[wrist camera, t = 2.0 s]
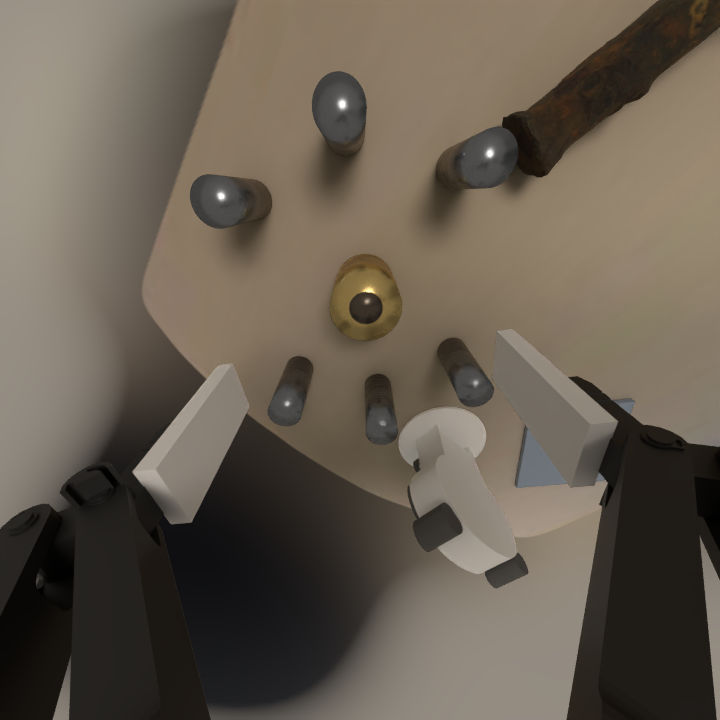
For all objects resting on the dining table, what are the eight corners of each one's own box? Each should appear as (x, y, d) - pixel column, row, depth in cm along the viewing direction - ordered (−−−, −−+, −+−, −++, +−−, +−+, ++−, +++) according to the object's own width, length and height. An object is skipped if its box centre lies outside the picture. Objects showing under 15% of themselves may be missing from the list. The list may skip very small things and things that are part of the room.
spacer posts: (476, 85, 22) (530, 35, 15) (463, 386, 35) (489, 434, 28) (216, 130, 23) (154, 104, 16) (297, 404, 36) (282, 454, 30)
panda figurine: (377, 441, 40) (384, 565, 26) (441, 387, 35) (488, 503, 22) (438, 481, 43) (472, 606, 30) (503, 436, 39) (574, 560, 26)
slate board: (631, 398, 36) (635, 401, 35) (601, 477, 43) (604, 480, 42) (528, 409, 37) (530, 412, 36) (515, 484, 44) (517, 487, 43)
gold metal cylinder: (391, 250, 28) (399, 266, 22) (395, 307, 30) (404, 336, 24) (331, 258, 28) (323, 277, 22) (341, 314, 31) (336, 345, 25)
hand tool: (515, 183, 25) (552, 181, 20) (491, 125, 23) (526, 109, 19) (861, -70, 19) (1036, -159, 14) (867, -179, 17) (1074, -327, 12)
